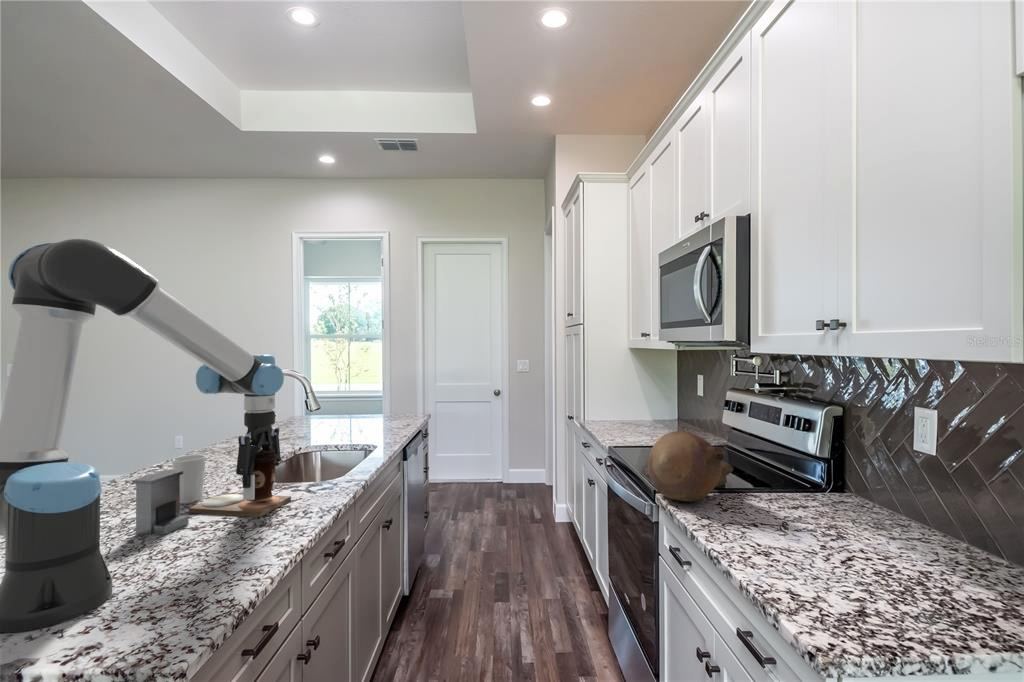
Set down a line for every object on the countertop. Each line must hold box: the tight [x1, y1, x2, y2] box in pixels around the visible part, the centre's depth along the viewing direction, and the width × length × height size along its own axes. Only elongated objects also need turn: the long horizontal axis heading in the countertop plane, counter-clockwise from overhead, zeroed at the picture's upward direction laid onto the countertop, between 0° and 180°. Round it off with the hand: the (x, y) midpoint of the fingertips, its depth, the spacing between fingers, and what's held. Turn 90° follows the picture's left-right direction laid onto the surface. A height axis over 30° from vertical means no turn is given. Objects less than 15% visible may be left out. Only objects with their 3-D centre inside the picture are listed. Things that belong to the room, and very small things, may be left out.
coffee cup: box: [248, 449, 278, 501], centre depth 130 cm, size 9×8×13 cm
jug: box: [644, 430, 734, 503], centre depth 140 cm, size 20×20×30 cm
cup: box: [172, 454, 207, 504], centre depth 137 cm, size 8×8×12 cm
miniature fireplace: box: [132, 469, 190, 536], centre depth 116 cm, size 9×8×13 cm
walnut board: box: [187, 492, 292, 518], centre depth 131 cm, size 13×21×2 cm, turn 81°
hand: (259, 494), depth 130 cm, fingers open, 8 cm apart
